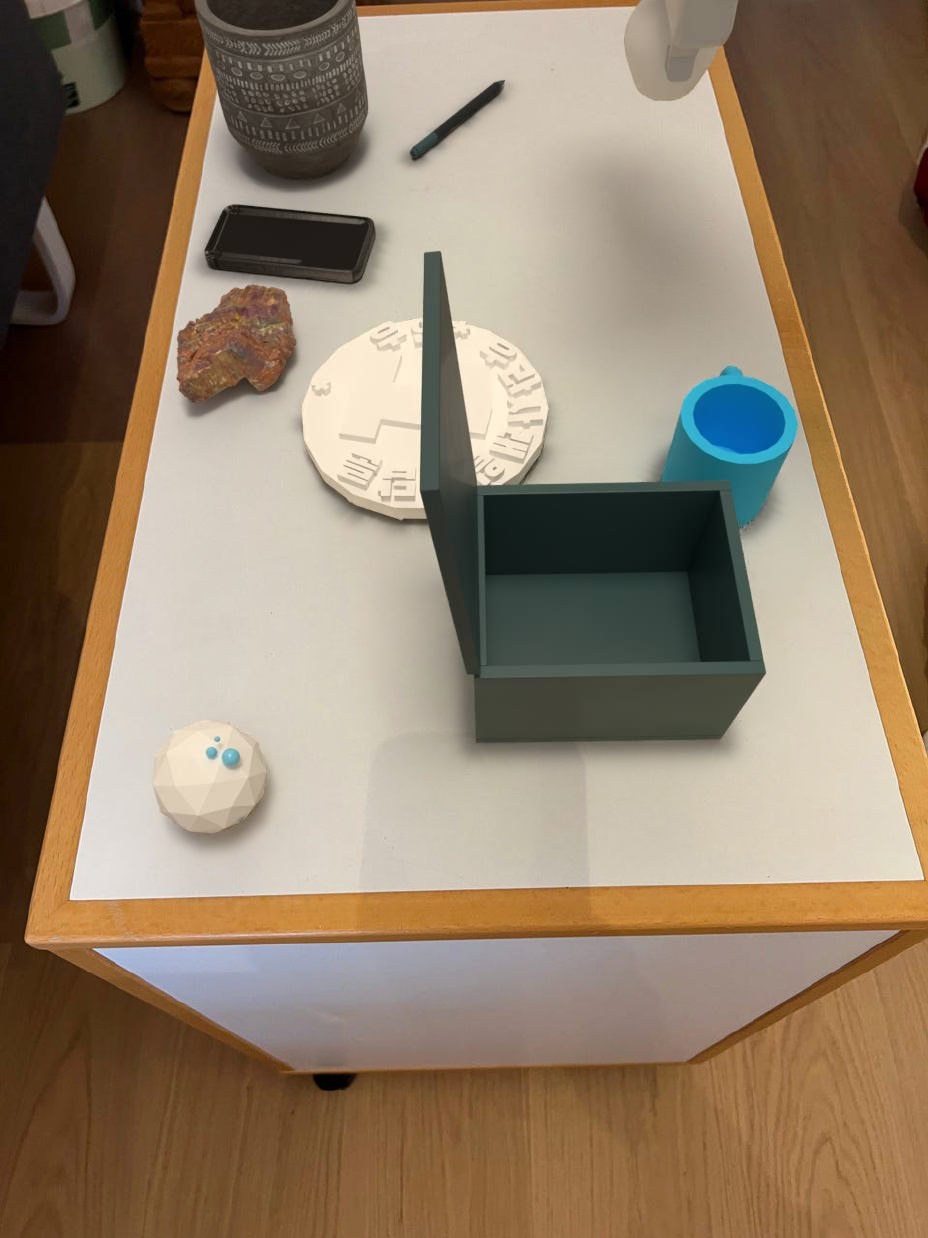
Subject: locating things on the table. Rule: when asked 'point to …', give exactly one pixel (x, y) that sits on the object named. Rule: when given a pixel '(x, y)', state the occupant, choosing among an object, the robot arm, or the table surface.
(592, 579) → the chest
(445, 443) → the lid
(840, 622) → the table surface
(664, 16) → the plain white apple
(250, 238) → the phone
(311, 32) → the planter
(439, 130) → the pen
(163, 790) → the ornament
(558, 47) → the table surface
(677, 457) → the mug
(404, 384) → the giant coin
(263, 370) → the mineral specimen
